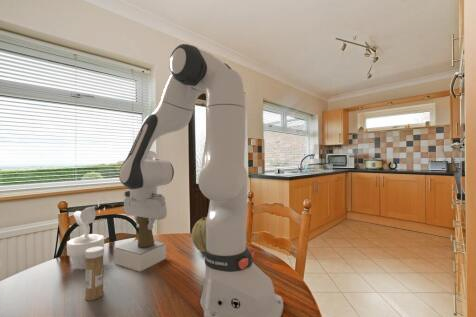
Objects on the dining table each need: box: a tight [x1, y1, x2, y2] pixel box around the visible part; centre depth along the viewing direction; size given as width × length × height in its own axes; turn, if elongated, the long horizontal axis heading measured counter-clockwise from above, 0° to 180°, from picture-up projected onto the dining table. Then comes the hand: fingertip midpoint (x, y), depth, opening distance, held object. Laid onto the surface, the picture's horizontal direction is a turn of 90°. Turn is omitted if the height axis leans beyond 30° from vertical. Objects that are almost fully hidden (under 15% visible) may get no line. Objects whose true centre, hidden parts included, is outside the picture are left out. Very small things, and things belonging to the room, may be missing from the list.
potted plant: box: [66, 198, 106, 271], centre depth 83 cm, size 13×12×25 cm
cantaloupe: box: [191, 216, 207, 253], centre depth 96 cm, size 15×15×15 cm
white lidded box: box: [114, 239, 167, 272], centre depth 87 cm, size 14×12×6 cm
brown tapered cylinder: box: [136, 217, 155, 247], centre depth 87 cm, size 6×6×11 cm
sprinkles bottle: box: [84, 246, 105, 301], centre depth 64 cm, size 5×5×14 cm
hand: (144, 228), depth 87 cm, fingers closed on brown tapered cylinder, 4 cm apart
